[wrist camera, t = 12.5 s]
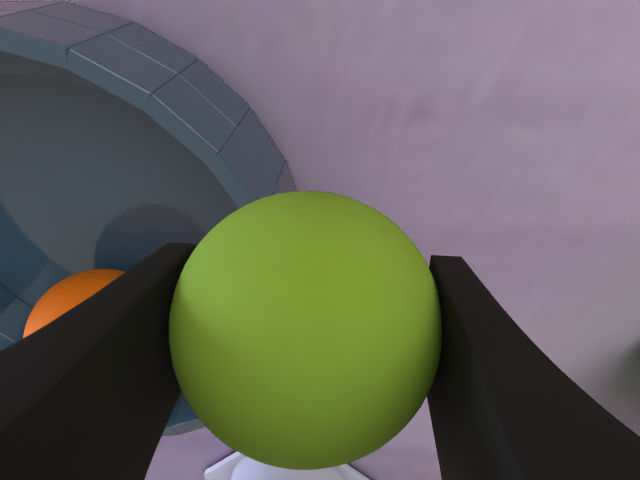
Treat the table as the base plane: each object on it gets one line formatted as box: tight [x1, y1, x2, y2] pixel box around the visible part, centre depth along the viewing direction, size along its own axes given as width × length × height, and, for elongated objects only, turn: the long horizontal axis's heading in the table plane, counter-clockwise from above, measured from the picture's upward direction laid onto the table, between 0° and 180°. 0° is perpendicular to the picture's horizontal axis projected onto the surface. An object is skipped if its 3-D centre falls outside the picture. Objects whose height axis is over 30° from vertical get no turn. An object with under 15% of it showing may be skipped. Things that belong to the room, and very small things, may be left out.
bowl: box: [0, 1, 296, 436], centre depth 19 cm, size 17×17×5 cm
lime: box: [169, 191, 442, 470], centre depth 9 cm, size 5×5×5 cm
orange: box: [23, 269, 125, 338], centre depth 20 cm, size 6×6×6 cm
